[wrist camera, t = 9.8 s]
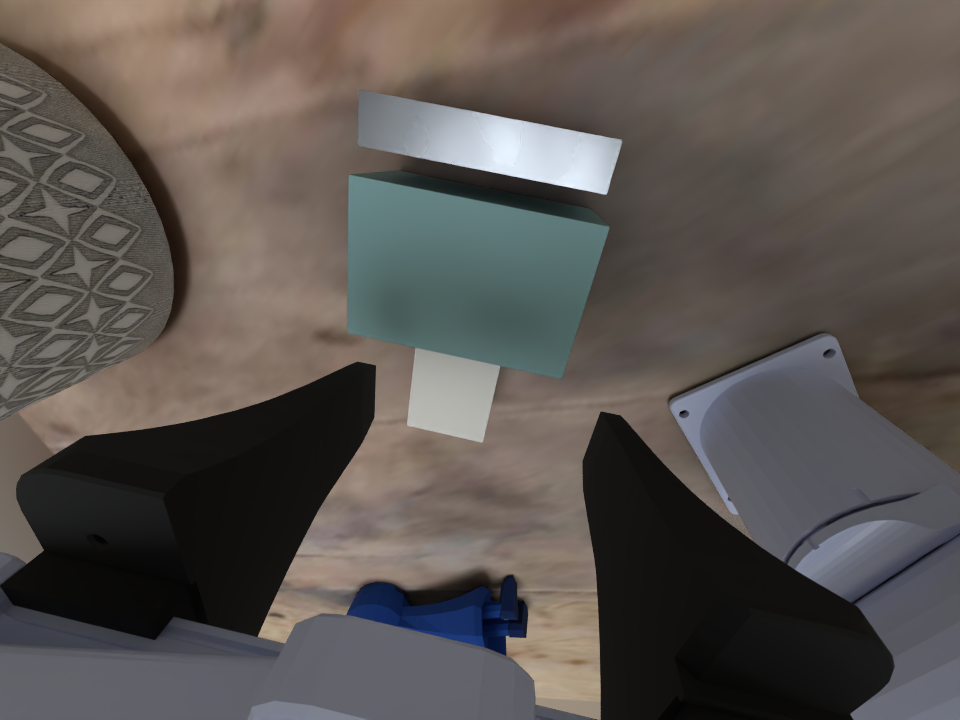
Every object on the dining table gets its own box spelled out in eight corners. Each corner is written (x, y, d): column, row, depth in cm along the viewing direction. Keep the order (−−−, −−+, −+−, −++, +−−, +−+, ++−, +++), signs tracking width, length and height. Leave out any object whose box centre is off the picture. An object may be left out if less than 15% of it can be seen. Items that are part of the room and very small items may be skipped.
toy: (508, 555, 31) (341, 578, 34) (505, 641, 25) (306, 659, 28) (531, 609, 33) (374, 626, 37) (533, 698, 28) (348, 708, 31)
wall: (585, 183, 17) (606, 194, 12) (411, 149, 18) (357, 145, 12) (596, 146, 17) (622, 140, 12) (414, 110, 17) (358, 89, 12)
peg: (491, 400, 24) (482, 442, 20) (426, 385, 24) (406, 425, 20) (529, 230, 19) (527, 247, 15) (449, 214, 19) (428, 226, 16)
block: (556, 328, 21) (561, 379, 16) (390, 293, 21) (347, 332, 16) (590, 208, 18) (609, 226, 13) (398, 170, 18) (348, 174, 13)
